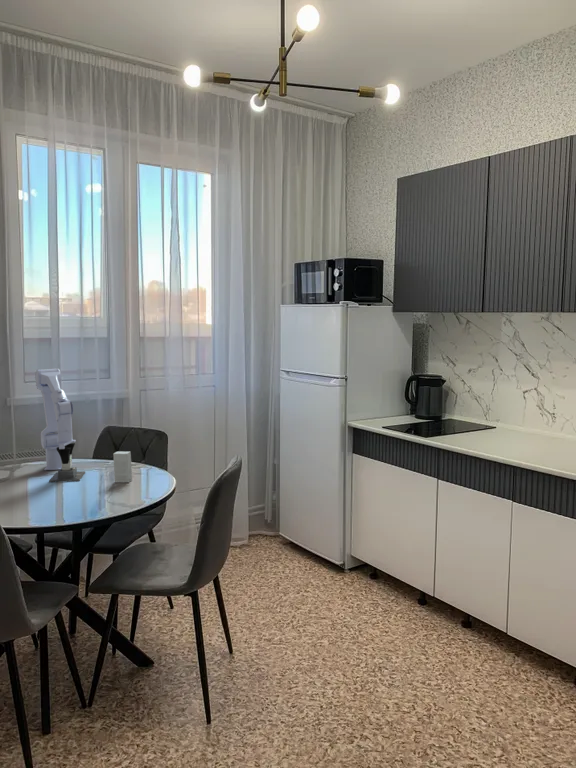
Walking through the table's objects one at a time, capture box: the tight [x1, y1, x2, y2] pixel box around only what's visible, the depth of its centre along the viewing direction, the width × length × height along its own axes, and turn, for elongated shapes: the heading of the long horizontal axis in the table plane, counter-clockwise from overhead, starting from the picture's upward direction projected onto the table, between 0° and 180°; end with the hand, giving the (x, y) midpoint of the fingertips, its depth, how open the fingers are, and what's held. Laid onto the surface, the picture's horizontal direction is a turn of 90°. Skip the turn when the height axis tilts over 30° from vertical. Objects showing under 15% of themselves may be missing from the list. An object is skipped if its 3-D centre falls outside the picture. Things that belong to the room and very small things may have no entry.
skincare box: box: [112, 451, 133, 483], centre depth 251 cm, size 6×4×12 cm
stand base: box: [48, 466, 86, 483], centre depth 257 cm, size 12×12×4 cm
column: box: [61, 453, 73, 471], centre depth 257 cm, size 4×4×7 cm
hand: (66, 462), depth 257 cm, fingers open, 5 cm apart
